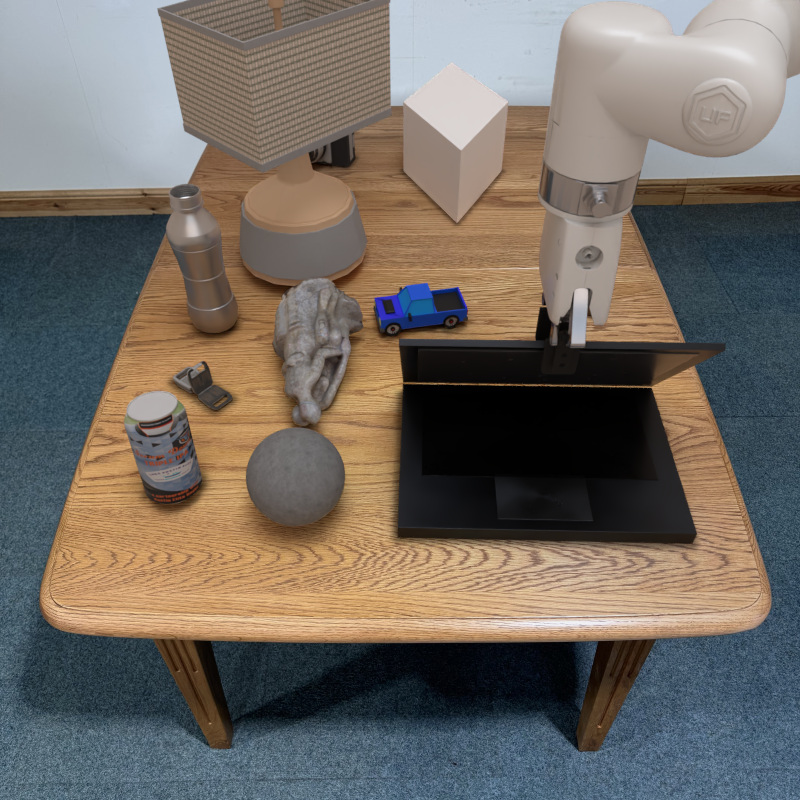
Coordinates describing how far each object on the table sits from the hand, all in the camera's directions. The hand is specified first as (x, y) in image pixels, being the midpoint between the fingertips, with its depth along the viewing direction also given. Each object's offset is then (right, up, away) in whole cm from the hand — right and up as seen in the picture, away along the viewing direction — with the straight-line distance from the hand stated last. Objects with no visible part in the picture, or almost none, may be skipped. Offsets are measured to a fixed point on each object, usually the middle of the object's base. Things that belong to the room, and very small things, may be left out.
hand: (554, 354), depth 70 cm
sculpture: (-25, -2, +21) cm, 33 cm away
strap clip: (-39, -3, +20) cm, 44 cm away
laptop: (0, -11, +12) cm, 16 cm away
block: (-6, +36, +59) cm, 70 cm away
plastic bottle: (-40, +6, +29) cm, 50 cm away
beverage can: (-39, -14, +10) cm, 43 cm away
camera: (-31, +39, +62) cm, 80 cm away
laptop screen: (0, -1, +7) cm, 7 cm away
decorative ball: (-26, -16, +8) cm, 31 cm away
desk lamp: (-29, +17, +40) cm, 52 cm away
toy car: (-12, +6, +30) cm, 33 cm away
